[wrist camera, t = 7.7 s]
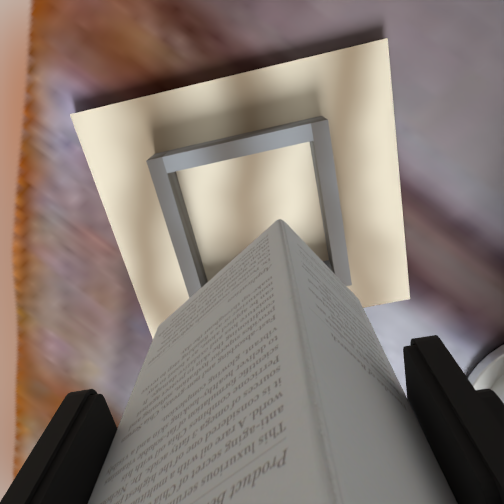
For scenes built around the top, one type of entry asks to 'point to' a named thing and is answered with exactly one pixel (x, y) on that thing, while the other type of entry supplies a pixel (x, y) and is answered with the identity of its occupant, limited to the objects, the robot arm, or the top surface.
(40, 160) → the top surface
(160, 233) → the holder board
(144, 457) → the skincare box
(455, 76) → the top surface
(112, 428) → the robot arm
